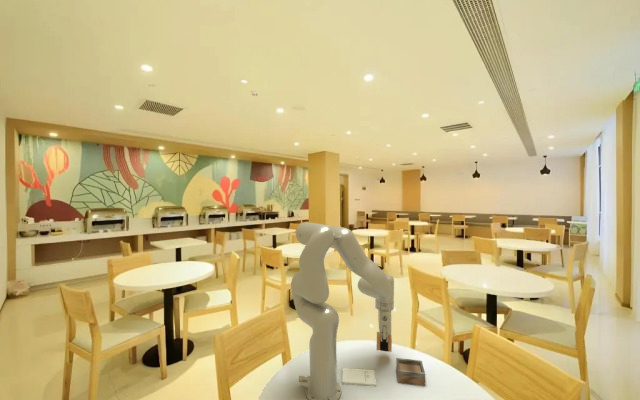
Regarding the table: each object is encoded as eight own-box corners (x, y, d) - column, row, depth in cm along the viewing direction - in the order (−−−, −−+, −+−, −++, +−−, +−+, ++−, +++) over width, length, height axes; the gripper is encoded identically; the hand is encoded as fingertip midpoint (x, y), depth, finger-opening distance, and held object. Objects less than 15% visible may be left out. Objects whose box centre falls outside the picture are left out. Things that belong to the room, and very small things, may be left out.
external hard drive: (342, 371, 109) (374, 373, 108) (342, 386, 101) (376, 387, 100) (342, 367, 109) (374, 369, 108) (342, 381, 101) (376, 383, 99)
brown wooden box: (397, 382, 101) (397, 370, 101) (396, 368, 109) (396, 357, 109) (425, 386, 99) (425, 374, 99) (421, 371, 107) (421, 360, 107)
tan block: (376, 350, 114) (376, 336, 114) (376, 344, 118) (376, 331, 118) (391, 351, 112) (391, 338, 112) (390, 346, 117) (391, 333, 117)
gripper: (395, 313, 106) (394, 360, 106) (392, 297, 123) (392, 338, 123) (375, 311, 108) (374, 357, 108) (375, 296, 124) (375, 336, 124)
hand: (383, 346), depth 115 cm, fingers closed on tan block, 4 cm apart
